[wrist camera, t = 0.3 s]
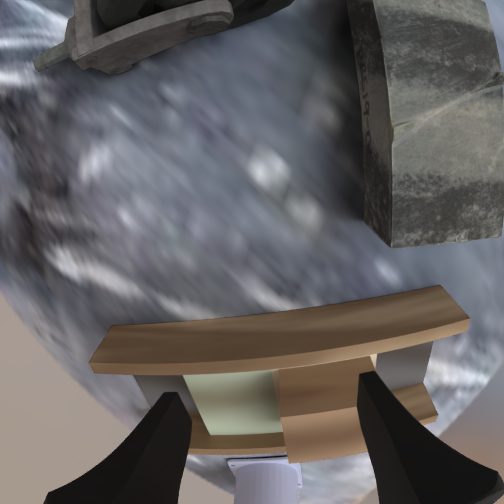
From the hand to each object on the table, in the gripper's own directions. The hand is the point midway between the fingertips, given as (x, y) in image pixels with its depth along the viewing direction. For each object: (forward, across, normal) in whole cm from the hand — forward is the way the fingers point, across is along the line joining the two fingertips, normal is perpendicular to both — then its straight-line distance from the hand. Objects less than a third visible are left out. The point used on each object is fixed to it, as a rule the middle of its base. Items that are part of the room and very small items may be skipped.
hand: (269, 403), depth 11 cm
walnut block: (+7, -3, +8) cm, 10 cm away
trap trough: (+10, 0, +8) cm, 12 cm away
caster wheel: (+10, +3, -18) cm, 20 cm away
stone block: (+10, -11, -10) cm, 18 cm away
